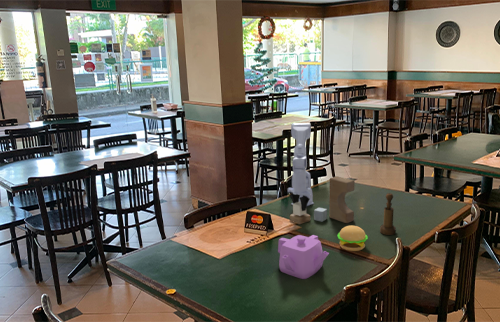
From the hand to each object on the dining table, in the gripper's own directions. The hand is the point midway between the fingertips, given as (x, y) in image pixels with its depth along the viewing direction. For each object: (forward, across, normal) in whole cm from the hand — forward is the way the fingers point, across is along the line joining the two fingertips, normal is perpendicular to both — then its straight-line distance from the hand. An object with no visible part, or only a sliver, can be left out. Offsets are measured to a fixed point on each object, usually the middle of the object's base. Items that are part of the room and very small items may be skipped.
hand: (299, 209), depth 201 cm
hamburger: (+6, +35, -6) cm, 36 cm away
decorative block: (+6, +13, +15) cm, 21 cm away
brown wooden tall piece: (+6, +37, +17) cm, 41 cm away
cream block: (+2, 0, 0) cm, 2 cm away
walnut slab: (+6, 0, 0) cm, 6 cm away
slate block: (+6, +6, +8) cm, 12 cm away
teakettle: (+6, +34, -35) cm, 49 cm away
